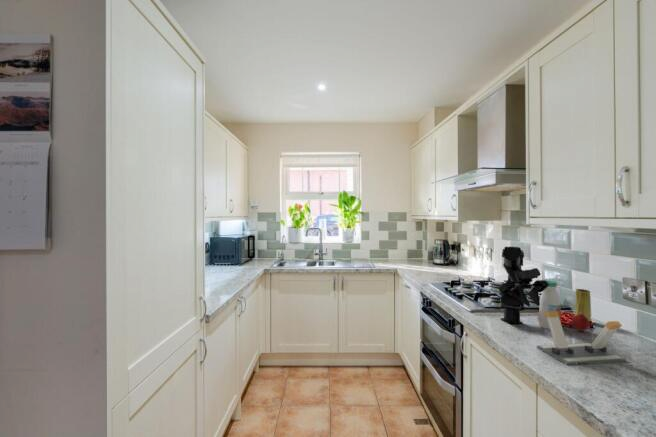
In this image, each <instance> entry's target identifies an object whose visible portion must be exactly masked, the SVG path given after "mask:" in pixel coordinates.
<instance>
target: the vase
mask: <svg viewBox="0 0 656 437" xmlns="http://www.w3.org/2000/svg"><path fill="white" fill-rule="evenodd" d="M574 299H575V302H574V316H576V315H578V314H579V313H582V314H583V315H584V316H585V317H586V318H587V319H588V321H591V322H592V320H591V318H592V317H591V315H592V314H591V291H590V290H588V289H584V288H577V289H575V298H574ZM574 316H573V317H574Z"/></svg>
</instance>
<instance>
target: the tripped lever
mask: <svg viewBox="0 0 656 437" xmlns="http://www.w3.org/2000/svg"><path fill="white" fill-rule="evenodd" d="M545 314H546V317H547V319H548V323H549V326H550V329H549V330H550V332H551V337H552V339H553V342H554V345H555V347H556V348H557V349H558V350H560V352H564V351H568V345H567V344H568V342H567V339H566V336H565V333H564V332H565V331H564V330H563V326H562V323H561V322H560V319H559V314H558V311H551V312H545Z"/></svg>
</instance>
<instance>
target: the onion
mask: <svg viewBox="0 0 656 437" xmlns="http://www.w3.org/2000/svg"><path fill="white" fill-rule="evenodd" d="M571 324H572V326H573V327H574V328H575V329H576V330H577V331H578V332H584V331H586V330H588V329H589V327H590V323H589V321H588V319H587V318H586V317H585V316H584V315H583V314H582V313H579V314H578V315H576V316H573V317H572V318H571Z"/></svg>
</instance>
